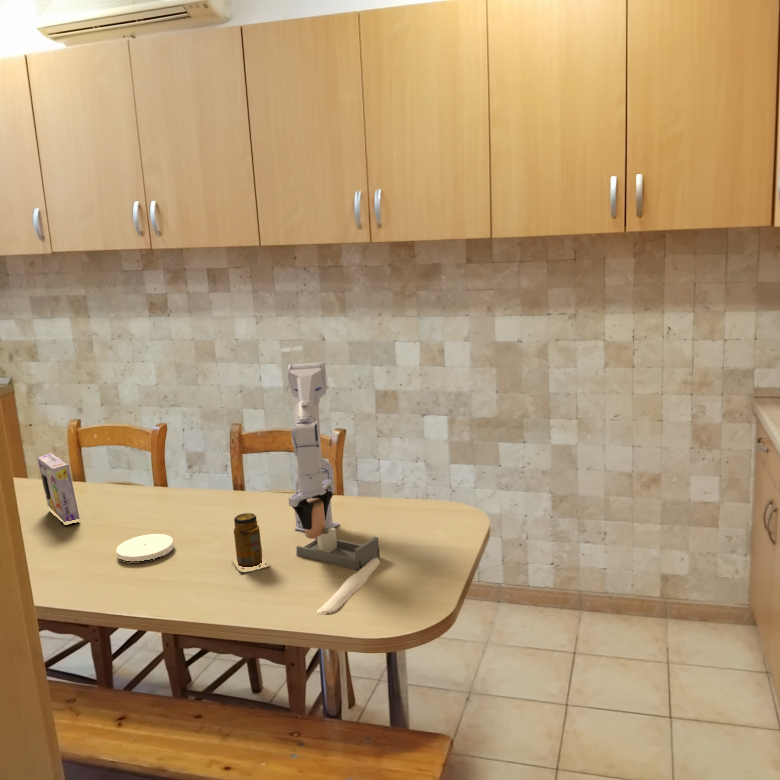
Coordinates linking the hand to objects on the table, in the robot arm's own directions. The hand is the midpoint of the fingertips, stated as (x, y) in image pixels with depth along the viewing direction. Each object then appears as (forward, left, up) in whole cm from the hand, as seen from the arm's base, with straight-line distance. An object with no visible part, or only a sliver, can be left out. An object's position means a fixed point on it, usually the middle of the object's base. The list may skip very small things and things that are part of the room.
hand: (314, 524), depth 195 cm
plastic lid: (-40, -20, -8) cm, 45 cm away
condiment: (-10, -13, -7) cm, 18 cm away
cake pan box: (-85, -14, -7) cm, 86 cm away
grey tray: (+6, 0, -7) cm, 10 cm away
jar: (0, 0, -3) cm, 3 cm away
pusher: (+3, 0, -7) cm, 8 cm away
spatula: (+19, -11, -8) cm, 23 cm away
